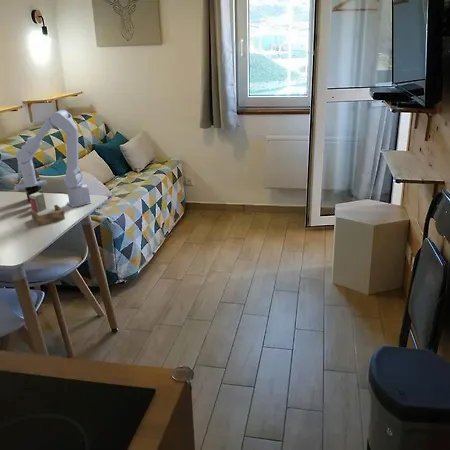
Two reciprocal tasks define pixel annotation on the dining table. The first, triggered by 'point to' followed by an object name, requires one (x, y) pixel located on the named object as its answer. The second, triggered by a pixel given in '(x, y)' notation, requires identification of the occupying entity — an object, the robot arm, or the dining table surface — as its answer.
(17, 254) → the dining table surface
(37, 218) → the walnut shelf bay
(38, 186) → the beer bottle
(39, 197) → the small box
